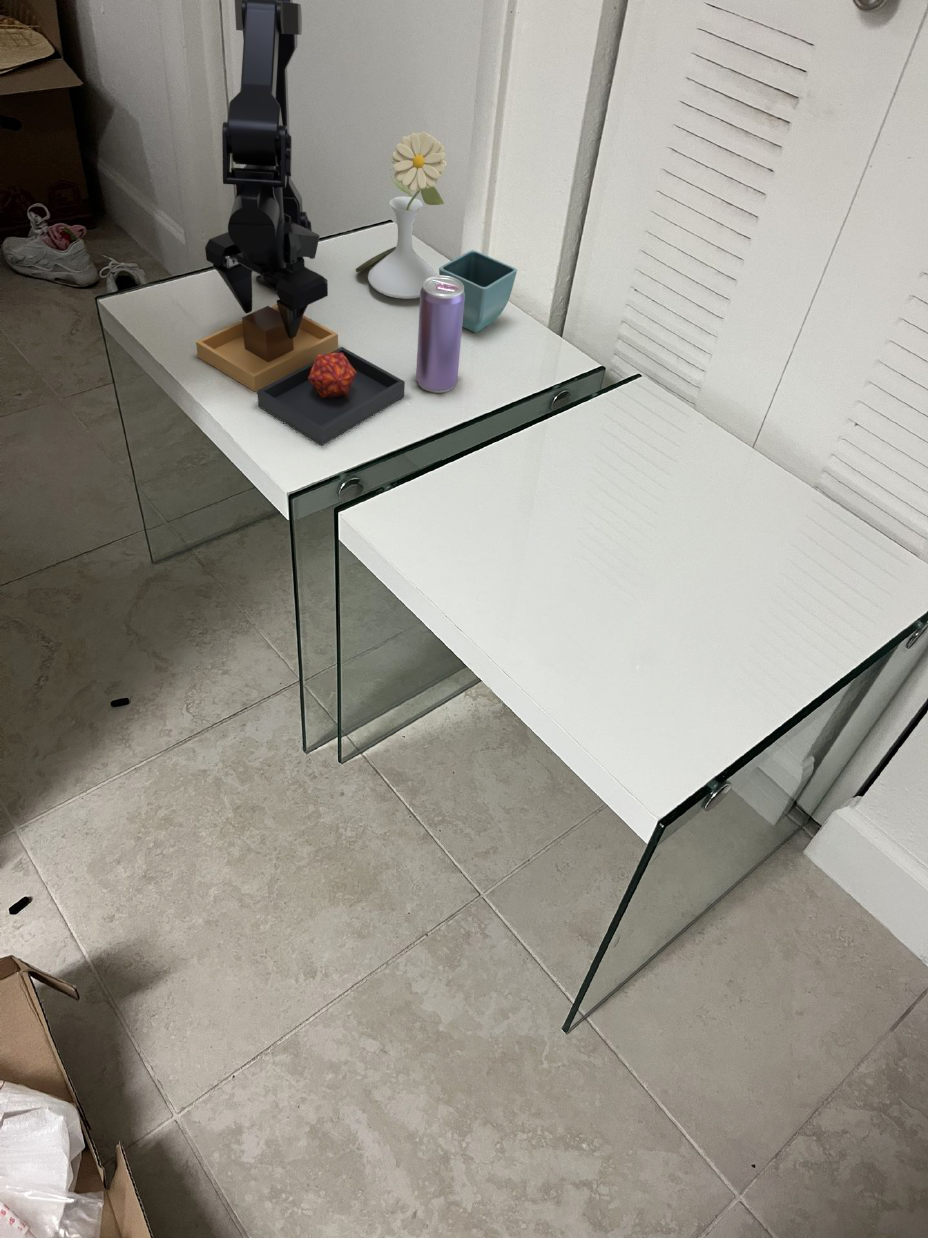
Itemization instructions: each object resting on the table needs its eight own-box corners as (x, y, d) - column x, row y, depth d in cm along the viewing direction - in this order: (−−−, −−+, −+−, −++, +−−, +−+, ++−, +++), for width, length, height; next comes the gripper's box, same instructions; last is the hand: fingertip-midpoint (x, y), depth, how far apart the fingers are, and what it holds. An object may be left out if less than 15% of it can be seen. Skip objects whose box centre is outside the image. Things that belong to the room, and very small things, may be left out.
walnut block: (244, 348, 137) (241, 317, 134) (270, 336, 140) (267, 305, 136) (268, 362, 135) (265, 331, 132) (293, 349, 138) (292, 318, 135)
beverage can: (452, 397, 134) (460, 299, 123) (411, 390, 134) (416, 292, 123) (460, 375, 138) (469, 278, 127) (421, 368, 138) (426, 271, 127)
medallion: (394, 244, 149) (397, 249, 150) (402, 247, 157) (404, 251, 157) (351, 269, 151) (353, 273, 151) (360, 270, 159) (362, 274, 159)
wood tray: (197, 356, 136) (195, 341, 134) (281, 317, 145) (280, 302, 143) (255, 392, 131) (254, 376, 129) (338, 348, 140) (338, 333, 138)
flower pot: (512, 322, 149) (518, 268, 143) (479, 343, 144) (485, 288, 138) (467, 302, 153) (472, 248, 146) (434, 322, 147) (437, 267, 141)
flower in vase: (353, 286, 153) (352, 121, 134) (401, 264, 159) (406, 104, 141) (412, 317, 148) (419, 151, 129) (460, 293, 154) (473, 131, 136)
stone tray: (258, 406, 129) (256, 390, 127) (342, 361, 138) (342, 346, 136) (321, 445, 124) (321, 429, 122) (404, 396, 133) (404, 381, 131)
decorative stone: (349, 395, 135) (360, 405, 128) (302, 391, 133) (311, 402, 126) (352, 349, 133) (363, 357, 126) (304, 345, 131) (313, 353, 124)
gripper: (356, 223, 125) (356, 329, 136) (259, 176, 132) (267, 281, 143) (293, 249, 118) (299, 359, 130) (196, 199, 126) (210, 306, 137)
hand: (270, 324), depth 135 cm, fingers open, 9 cm apart
